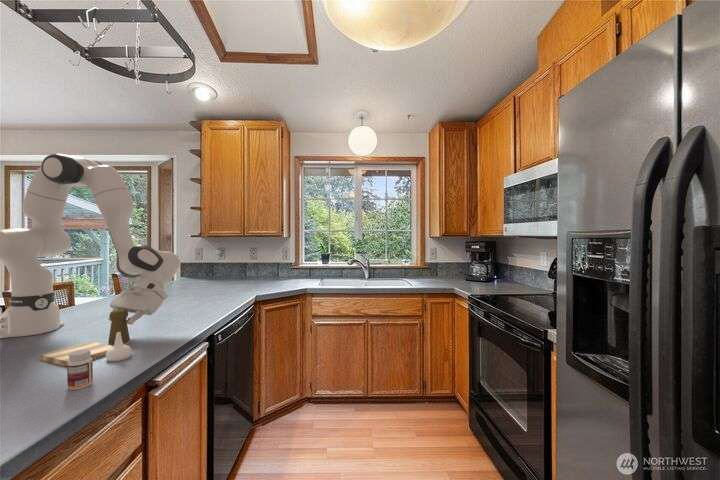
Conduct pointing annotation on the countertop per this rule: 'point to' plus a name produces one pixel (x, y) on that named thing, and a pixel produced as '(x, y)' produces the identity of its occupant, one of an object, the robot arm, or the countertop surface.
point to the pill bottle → (79, 369)
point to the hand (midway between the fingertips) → (119, 322)
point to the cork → (119, 325)
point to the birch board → (63, 354)
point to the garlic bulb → (118, 350)
